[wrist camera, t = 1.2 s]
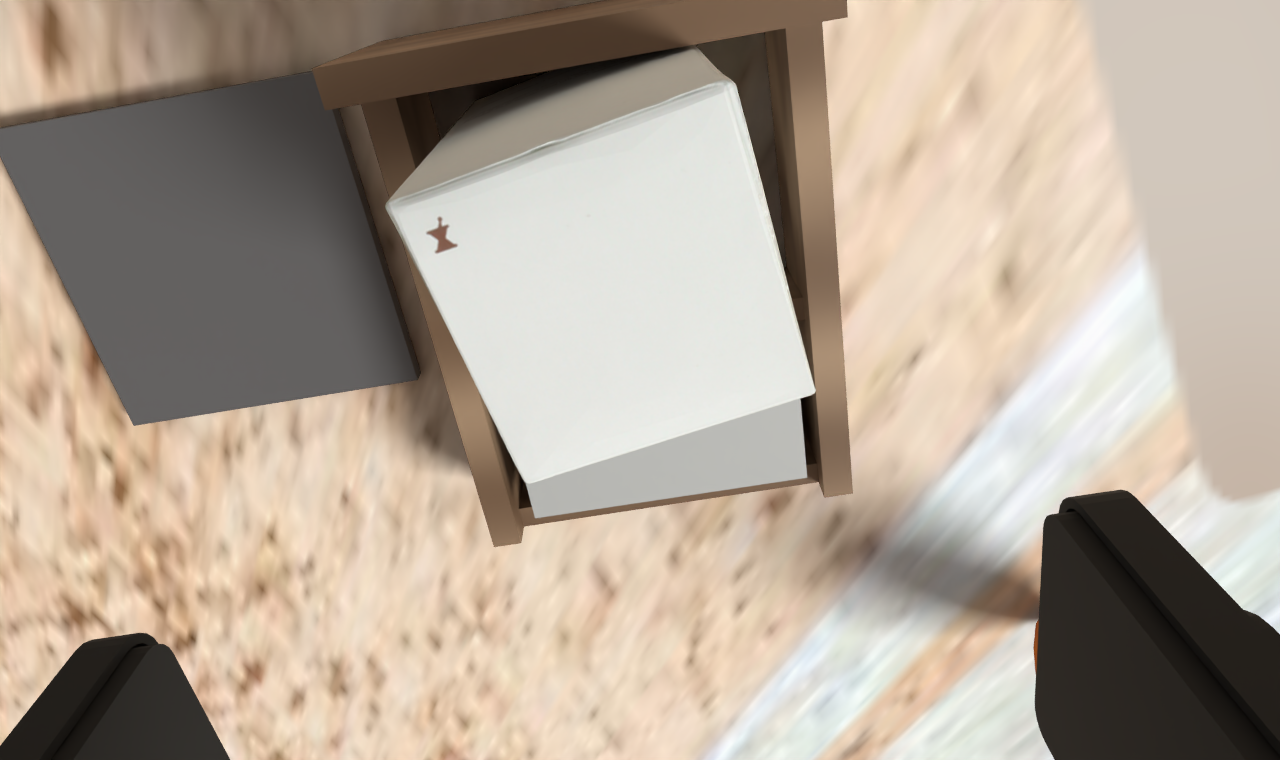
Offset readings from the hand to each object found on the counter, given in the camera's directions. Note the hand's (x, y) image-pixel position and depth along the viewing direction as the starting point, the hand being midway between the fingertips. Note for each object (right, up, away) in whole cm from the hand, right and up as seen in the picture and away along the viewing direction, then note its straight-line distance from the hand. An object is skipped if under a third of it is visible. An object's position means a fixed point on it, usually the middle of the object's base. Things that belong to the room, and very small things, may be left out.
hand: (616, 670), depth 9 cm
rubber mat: (-14, +7, +21) cm, 26 cm away
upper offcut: (+1, +2, +22) cm, 22 cm away
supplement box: (-1, +10, +20) cm, 23 cm away
